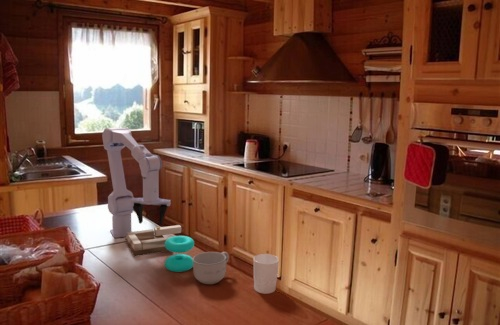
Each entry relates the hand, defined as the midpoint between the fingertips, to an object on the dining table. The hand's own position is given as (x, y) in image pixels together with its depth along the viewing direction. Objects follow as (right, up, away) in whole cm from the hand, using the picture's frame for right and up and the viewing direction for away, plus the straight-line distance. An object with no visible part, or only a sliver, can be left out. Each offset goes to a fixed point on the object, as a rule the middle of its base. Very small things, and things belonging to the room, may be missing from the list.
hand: (150, 223), depth 160 cm
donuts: (+13, -13, -13) cm, 23 cm away
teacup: (+25, -15, -21) cm, 36 cm away
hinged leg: (+4, -6, +12) cm, 14 cm away
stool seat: (-2, -10, +3) cm, 10 cm away
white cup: (+42, -17, -27) cm, 53 cm away
